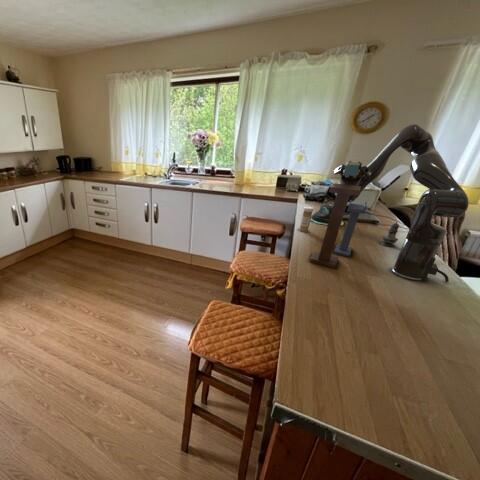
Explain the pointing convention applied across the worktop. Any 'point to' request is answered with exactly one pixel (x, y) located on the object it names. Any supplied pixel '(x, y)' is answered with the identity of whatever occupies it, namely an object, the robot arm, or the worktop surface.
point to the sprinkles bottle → (306, 219)
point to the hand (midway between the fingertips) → (354, 163)
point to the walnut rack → (334, 224)
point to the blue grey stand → (350, 228)
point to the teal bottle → (351, 168)
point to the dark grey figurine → (391, 236)
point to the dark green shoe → (323, 215)
